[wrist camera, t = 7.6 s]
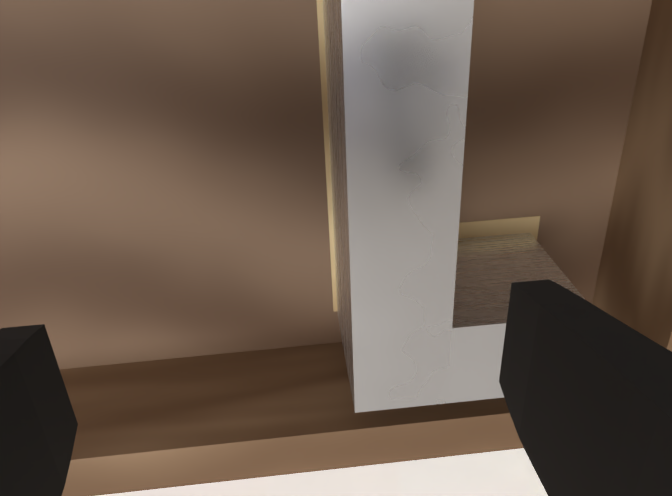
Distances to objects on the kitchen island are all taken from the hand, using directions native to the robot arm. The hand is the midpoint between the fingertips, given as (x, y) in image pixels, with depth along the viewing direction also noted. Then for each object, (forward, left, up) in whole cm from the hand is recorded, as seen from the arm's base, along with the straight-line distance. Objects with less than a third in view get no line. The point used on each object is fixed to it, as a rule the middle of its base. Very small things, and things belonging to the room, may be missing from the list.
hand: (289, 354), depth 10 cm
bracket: (0, +5, -9) cm, 10 cm away
